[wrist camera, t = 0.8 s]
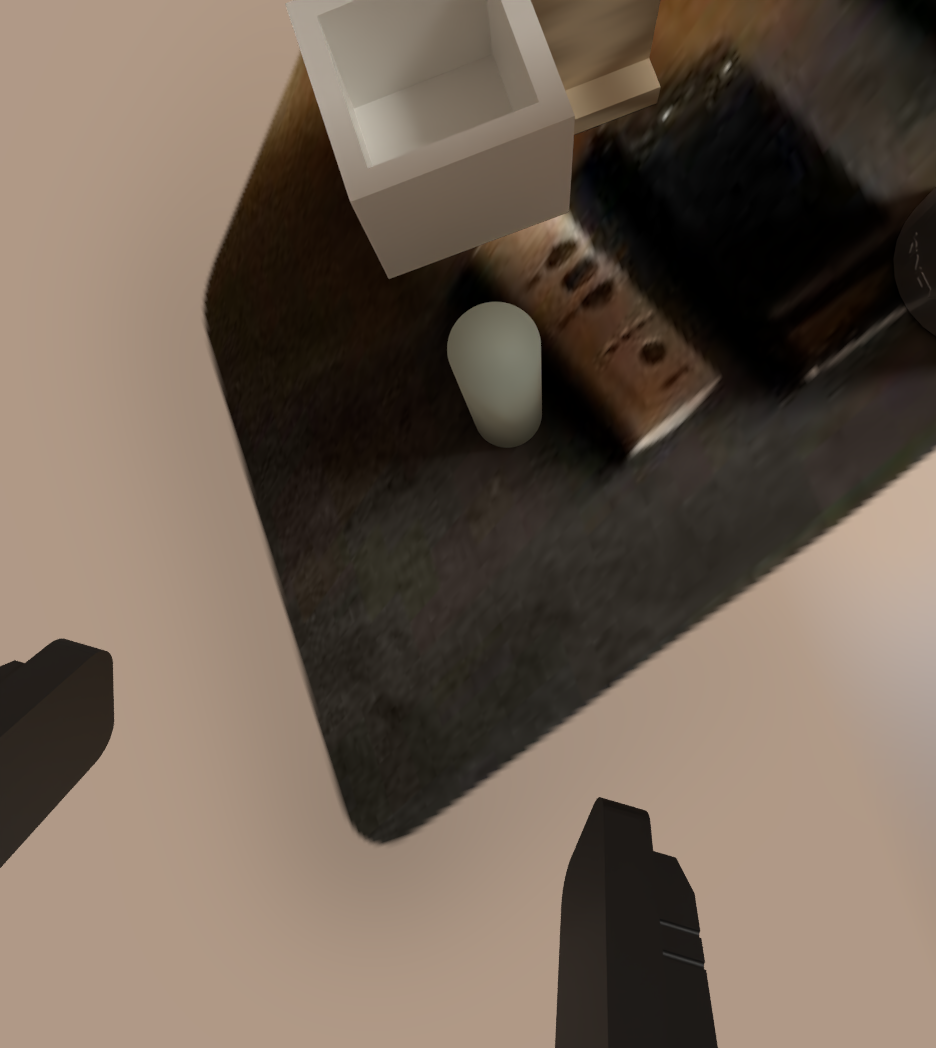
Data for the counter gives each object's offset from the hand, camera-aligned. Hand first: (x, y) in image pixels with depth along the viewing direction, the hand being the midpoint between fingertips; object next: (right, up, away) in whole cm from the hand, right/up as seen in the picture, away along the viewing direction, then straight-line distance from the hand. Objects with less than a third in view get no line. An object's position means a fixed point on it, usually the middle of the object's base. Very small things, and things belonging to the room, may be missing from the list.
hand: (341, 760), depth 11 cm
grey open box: (+1, +21, +20) cm, 29 cm away
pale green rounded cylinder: (+4, +10, +25) cm, 27 cm away
